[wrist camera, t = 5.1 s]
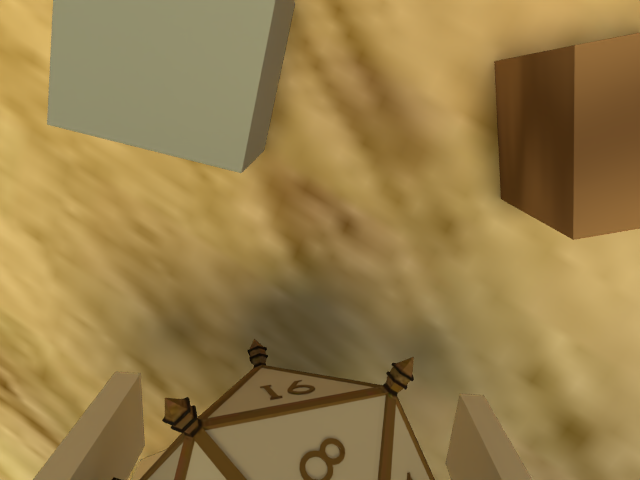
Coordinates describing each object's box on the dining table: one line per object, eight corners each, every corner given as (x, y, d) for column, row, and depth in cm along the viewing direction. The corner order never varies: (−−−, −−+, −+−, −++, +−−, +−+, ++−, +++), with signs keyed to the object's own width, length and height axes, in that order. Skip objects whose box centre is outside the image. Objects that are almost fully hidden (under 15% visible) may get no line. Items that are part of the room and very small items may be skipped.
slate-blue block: (264, 150, 16) (241, 173, 11) (130, 115, 16) (47, 124, 11) (295, 4, 14) (283, -41, 10) (146, -38, 14) (58, -107, 9)
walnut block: (632, 175, 16) (760, 207, 12) (500, 198, 17) (573, 239, 12) (639, 33, 15) (792, 3, 10) (493, 61, 15) (574, 45, 10)
